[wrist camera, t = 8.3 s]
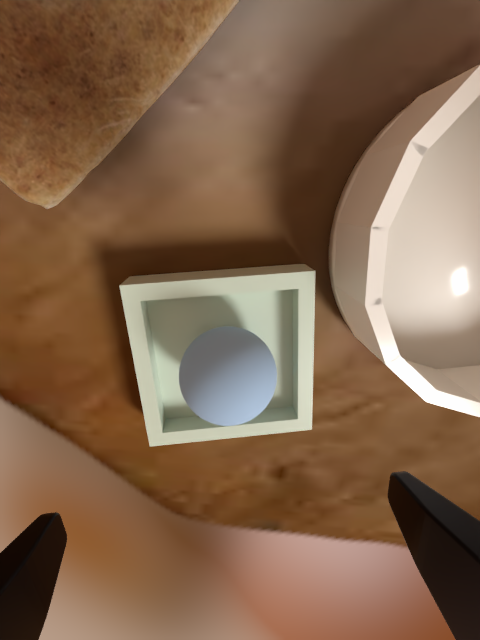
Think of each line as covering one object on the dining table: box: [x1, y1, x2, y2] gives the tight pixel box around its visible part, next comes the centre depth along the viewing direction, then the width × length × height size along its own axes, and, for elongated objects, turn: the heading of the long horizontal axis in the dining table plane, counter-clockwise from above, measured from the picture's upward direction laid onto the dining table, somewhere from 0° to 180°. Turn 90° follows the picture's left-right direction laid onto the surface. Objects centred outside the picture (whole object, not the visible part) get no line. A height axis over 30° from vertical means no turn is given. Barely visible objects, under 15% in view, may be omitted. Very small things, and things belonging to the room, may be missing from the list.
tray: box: [119, 264, 315, 446], centre depth 17 cm, size 9×9×2 cm
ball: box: [179, 326, 277, 426], centre depth 15 cm, size 5×5×5 cm
